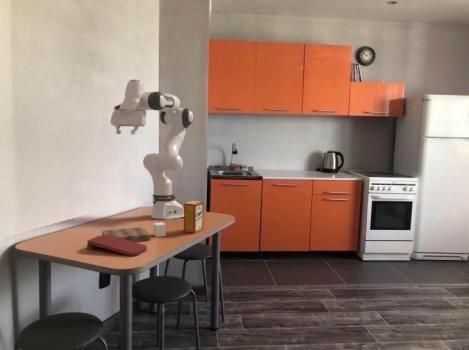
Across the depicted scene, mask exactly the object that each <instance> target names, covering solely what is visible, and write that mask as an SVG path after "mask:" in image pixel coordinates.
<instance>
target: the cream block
mask: <svg viewBox="0 0 469 350" xmlns="http://www.w3.org/2000/svg"><path fill="white" fill-rule="evenodd" d="M152 228H153V229H152V234H153V236H155V238H156V237H157V238H158V237H159V238H160V237H166V235H167V233H166V228H167V224H166V223H164V222H163V221H162V222H161V221H160V222H153V225H152Z"/></svg>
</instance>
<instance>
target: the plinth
mask: <svg viewBox="0 0 469 350" xmlns="http://www.w3.org/2000/svg"><path fill="white" fill-rule="evenodd" d="M101 235H110V236H115V237H118V238H122V239H125V240H129V241H132V242H136V243H140V242H148V241H151V237H152V236H151V233H149V232H148V231H147V230H146V229H145V228H144V227H142V226H141V227H130V228H116V229H105V230H101Z"/></svg>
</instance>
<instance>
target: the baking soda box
mask: <svg viewBox="0 0 469 350" xmlns="http://www.w3.org/2000/svg"><path fill="white" fill-rule="evenodd" d="M183 209H184V218H183V233H187V234H193V235H195V234H197V233H200V232H201V230H202V231H203V230H204V201H203V200H202V201H200V200H189V201H187V202H184V203H183Z"/></svg>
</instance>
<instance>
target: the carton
mask: <svg viewBox="0 0 469 350" xmlns="http://www.w3.org/2000/svg"><path fill="white" fill-rule="evenodd" d="M98 247H100V248H101V249H102V248H103V249H106V250H110V251H113V252H117V253H119V254H123V255H126V256H131V257H136V256H139V255H141V254H142V253H144V252H146V251H147V245H145V244H142V243H140V242H132V241H129V240H125V239H122V238H118V237H115V236H110V235H102V234H101V235H97V236H95V237H93V238H90V239H88V240H87V243H86V249H87V250H93V249H95V248H98Z"/></svg>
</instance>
